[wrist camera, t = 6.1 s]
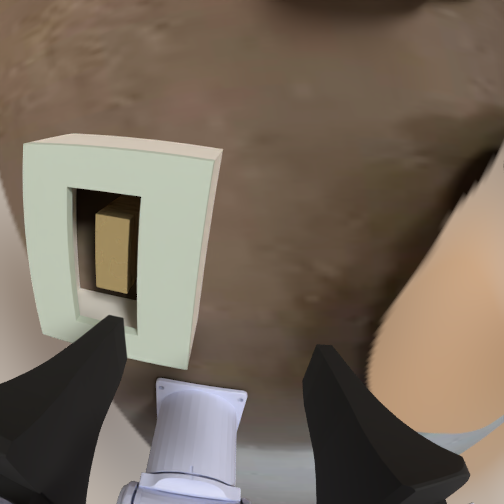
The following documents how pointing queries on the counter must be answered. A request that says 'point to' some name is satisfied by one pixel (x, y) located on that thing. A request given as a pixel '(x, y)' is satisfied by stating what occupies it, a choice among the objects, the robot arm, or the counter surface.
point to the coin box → (149, 241)
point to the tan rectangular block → (117, 244)
